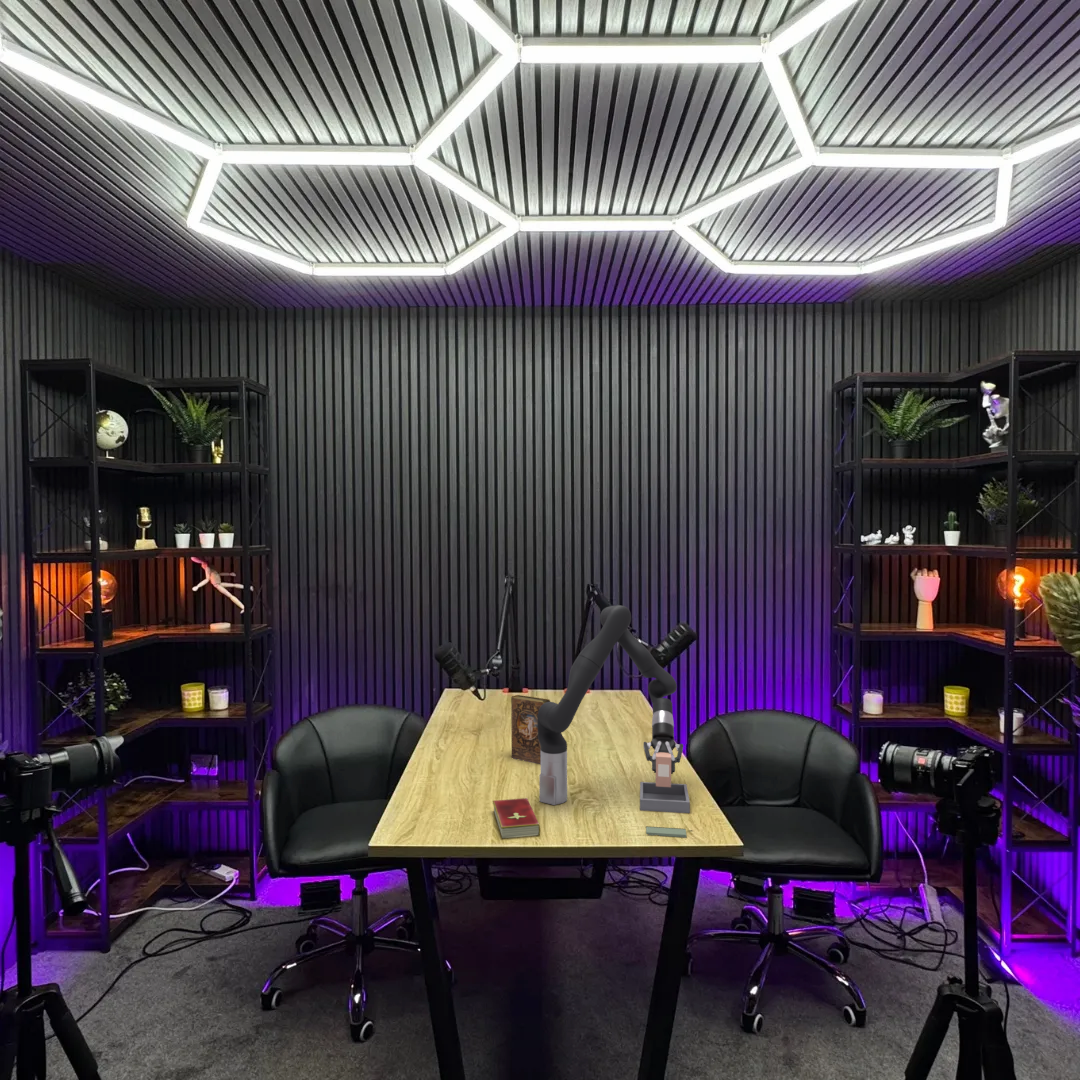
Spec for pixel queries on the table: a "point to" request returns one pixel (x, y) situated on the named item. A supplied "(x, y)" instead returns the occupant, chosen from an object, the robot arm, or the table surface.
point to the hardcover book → (516, 818)
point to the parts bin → (664, 798)
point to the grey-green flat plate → (666, 831)
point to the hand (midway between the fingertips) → (663, 772)
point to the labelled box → (663, 769)
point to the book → (525, 728)
